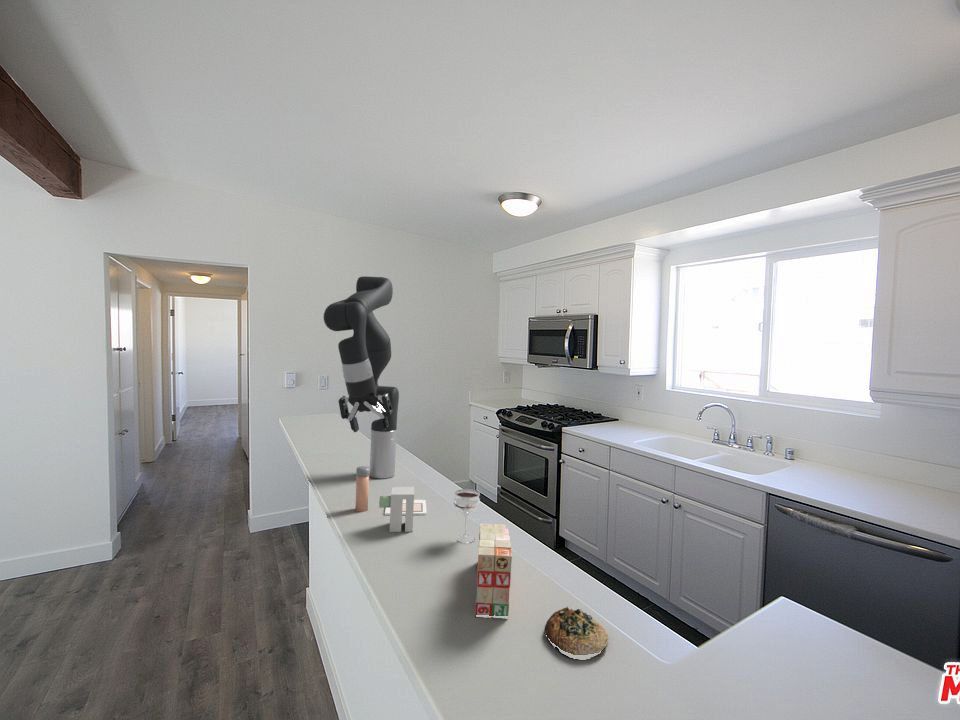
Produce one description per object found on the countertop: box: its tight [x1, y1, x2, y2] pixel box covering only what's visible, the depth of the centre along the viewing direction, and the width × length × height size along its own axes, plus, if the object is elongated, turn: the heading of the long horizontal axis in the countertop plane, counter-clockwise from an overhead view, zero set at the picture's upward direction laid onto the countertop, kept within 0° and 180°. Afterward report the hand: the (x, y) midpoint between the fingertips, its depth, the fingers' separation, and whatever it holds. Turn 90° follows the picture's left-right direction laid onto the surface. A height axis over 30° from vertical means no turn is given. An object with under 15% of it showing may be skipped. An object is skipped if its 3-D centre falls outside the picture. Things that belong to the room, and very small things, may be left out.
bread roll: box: [544, 606, 610, 655], centre depth 77 cm, size 11×11×5 cm
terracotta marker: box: [354, 465, 370, 513], centre depth 131 cm, size 4×4×12 cm
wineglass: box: [453, 488, 481, 544], centre depth 114 cm, size 7×7×12 cm
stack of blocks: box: [474, 523, 513, 617], centre depth 92 cm, size 21×6×12 cm, turn 179°
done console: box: [389, 486, 415, 533], centre depth 120 cm, size 6×6×10 cm
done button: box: [378, 495, 391, 509], centre depth 119 cm, size 3×4×3 cm
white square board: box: [384, 499, 428, 516], centre depth 134 cm, size 11×12×1 cm
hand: (370, 430), depth 124 cm, fingers open, 8 cm apart
